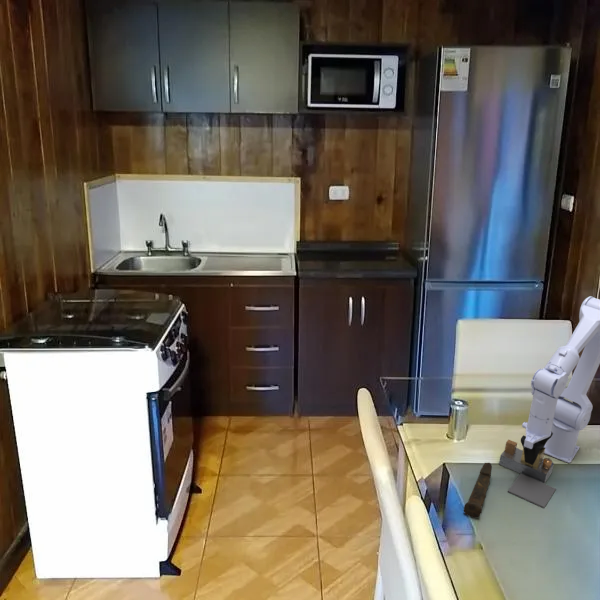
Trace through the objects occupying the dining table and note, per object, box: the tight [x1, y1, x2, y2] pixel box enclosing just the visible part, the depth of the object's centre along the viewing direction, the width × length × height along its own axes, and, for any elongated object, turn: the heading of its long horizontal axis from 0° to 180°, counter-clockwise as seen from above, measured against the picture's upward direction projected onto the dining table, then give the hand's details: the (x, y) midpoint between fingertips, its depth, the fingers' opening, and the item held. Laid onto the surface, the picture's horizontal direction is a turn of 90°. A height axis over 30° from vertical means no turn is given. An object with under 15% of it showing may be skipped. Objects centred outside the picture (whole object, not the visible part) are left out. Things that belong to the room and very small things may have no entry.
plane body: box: [498, 439, 555, 484], centre depth 158 cm, size 6×12×6 cm, turn 51°
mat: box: [507, 473, 557, 509], centre depth 151 cm, size 9×9×1 cm
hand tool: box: [462, 462, 493, 519], centre depth 148 cm, size 19×4×5 cm, turn 150°
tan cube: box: [521, 447, 545, 468], centre depth 157 cm, size 4×4×4 cm
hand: (532, 458), depth 157 cm, fingers closed on tan cube, 4 cm apart
